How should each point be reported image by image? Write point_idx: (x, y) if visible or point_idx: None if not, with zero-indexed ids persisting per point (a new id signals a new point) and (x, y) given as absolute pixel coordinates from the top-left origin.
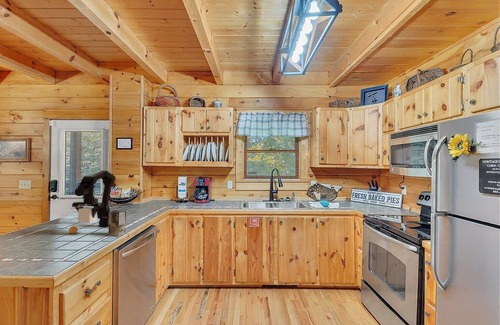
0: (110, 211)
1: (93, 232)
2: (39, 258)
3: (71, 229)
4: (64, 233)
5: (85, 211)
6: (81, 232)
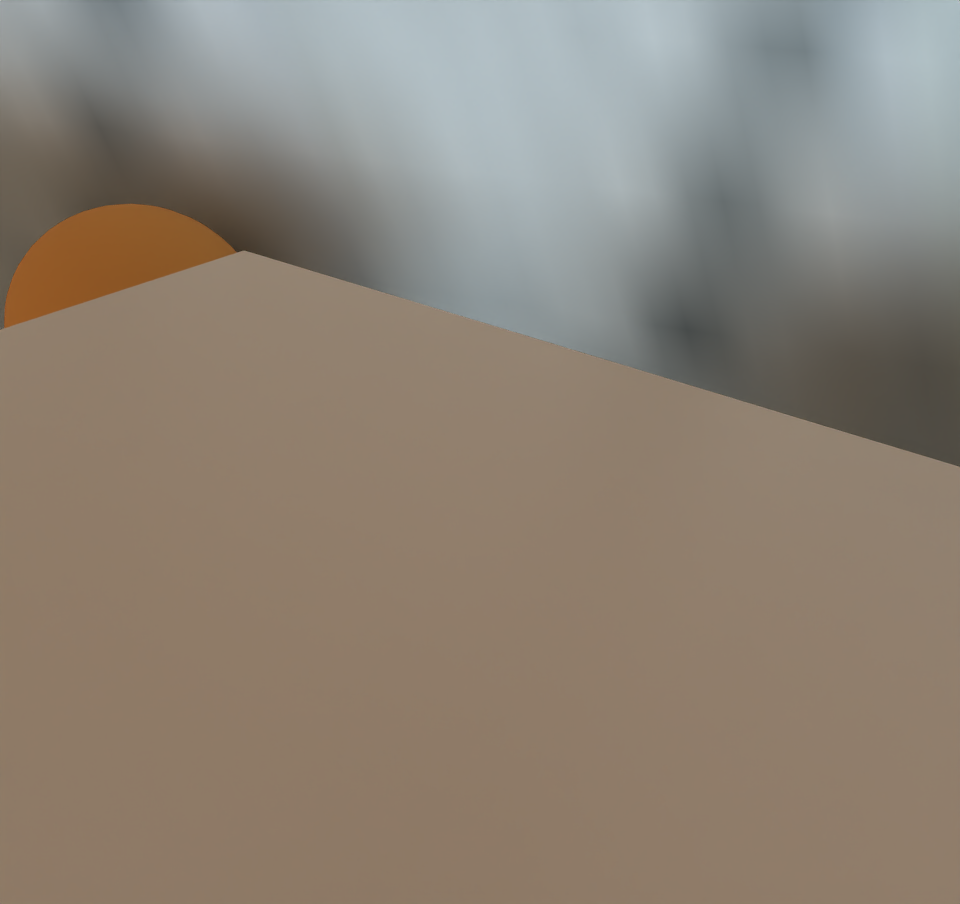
0: None
1: (753, 235)
2: None
3: None
4: (2, 249)
5: None
6: (372, 187)
